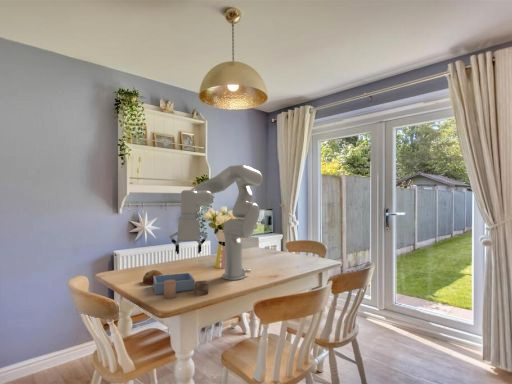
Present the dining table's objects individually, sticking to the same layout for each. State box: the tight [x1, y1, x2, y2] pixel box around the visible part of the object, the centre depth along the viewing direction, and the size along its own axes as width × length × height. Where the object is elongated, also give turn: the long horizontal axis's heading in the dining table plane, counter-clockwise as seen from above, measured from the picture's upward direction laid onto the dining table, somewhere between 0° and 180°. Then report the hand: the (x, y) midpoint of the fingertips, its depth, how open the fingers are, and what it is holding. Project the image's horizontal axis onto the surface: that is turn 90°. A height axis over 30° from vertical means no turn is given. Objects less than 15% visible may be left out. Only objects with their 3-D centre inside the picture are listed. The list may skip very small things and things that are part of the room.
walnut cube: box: [194, 280, 209, 296], centre depth 139 cm, size 5×5×5 cm
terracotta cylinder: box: [163, 280, 177, 300], centre depth 134 cm, size 5×5×7 cm
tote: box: [152, 272, 196, 296], centre depth 146 cm, size 18×14×5 cm
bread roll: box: [142, 269, 164, 286], centre depth 156 cm, size 10×10×8 cm
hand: (188, 253), depth 141 cm, fingers open, 9 cm apart
